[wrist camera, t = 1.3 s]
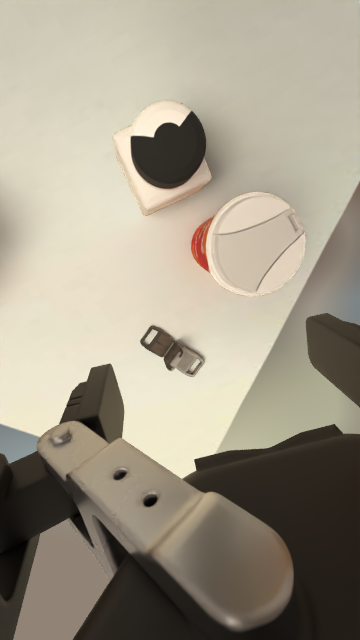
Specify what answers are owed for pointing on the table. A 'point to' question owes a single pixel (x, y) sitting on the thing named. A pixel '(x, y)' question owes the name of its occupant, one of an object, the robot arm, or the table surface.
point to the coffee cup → (251, 244)
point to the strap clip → (172, 352)
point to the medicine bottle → (163, 155)
